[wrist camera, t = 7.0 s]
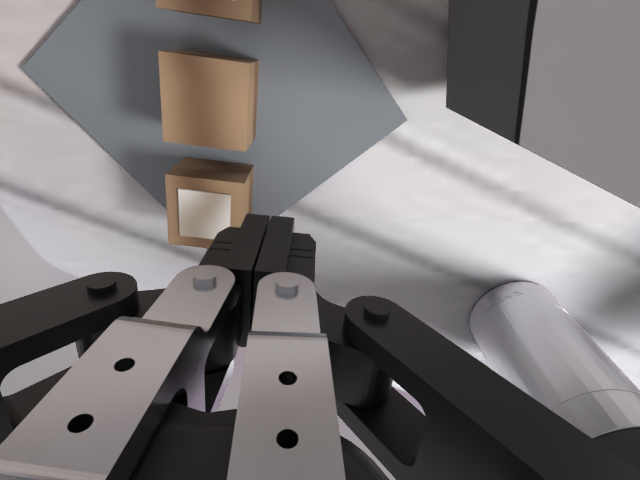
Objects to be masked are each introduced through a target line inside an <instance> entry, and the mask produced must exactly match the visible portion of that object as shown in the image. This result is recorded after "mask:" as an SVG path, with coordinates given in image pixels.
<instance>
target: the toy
mask: <svg viewBox="0 0 640 480" xmlns="http://www.w3.org/2000/svg"><path fill="white" fill-rule="evenodd" d="M446 107H447V108H449V109H450V110H452V111H454V112H456V113H458V114H460V115H462V116H464V117H466V118H468V119H470V120H472V121H473V122H475V123H477V124H479V125H481V126H483V127H485V128H487V129H489V130H491V131H493V132H495V133H497V134H498V135H500V136H502V137H504V138H506V139H508V140H510V141H512V142H514V143H516V144H518V145H520V146H521V147H523V148H525V149H527V150H529V151H531V152H533V153H535V154H537V155H539V156H541V157H543V158H545V159H546V160H548V161H550V162H552V163H554V164H556V165H558V166H560V167H562V168H564V169H566V170H568V171H569V172H571V173H573V174H575V175H577V176H579V177H581V178H583V179H585V180H587V181H589V182H591V183H593V184H594V185H596V186H598V187H600V188H602V189H604V190H606V191H608V192H610V193H612V194H614V195H616V196H617V197H619V198H621V199H623V200H625V201H627V202H629V203H631V204H633V205H635V206H637V207H639V208H640V0H449V17H448V56H447V96H446Z"/></svg>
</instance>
